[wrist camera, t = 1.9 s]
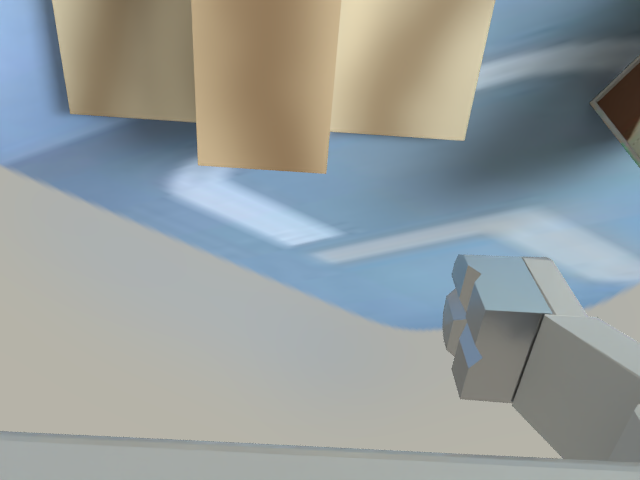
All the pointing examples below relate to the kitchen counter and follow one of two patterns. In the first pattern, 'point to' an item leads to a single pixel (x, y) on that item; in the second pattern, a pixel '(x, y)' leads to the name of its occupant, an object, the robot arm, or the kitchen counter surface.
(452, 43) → the board
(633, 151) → the food container
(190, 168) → the kitchen counter surface
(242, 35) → the block
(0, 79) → the kitchen counter surface
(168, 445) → the robot arm
